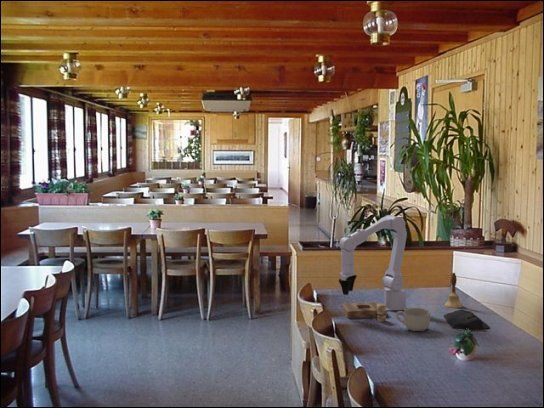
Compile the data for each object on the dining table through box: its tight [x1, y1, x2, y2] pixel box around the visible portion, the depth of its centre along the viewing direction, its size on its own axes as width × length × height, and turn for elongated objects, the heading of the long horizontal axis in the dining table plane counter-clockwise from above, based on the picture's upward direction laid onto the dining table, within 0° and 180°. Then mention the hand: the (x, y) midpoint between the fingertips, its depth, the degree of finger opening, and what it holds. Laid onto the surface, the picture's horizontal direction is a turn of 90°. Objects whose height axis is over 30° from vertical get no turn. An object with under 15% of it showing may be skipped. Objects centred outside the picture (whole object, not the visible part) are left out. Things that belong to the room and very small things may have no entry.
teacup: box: [395, 307, 431, 332], centre depth 248 cm, size 14×11×8 cm
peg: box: [377, 303, 386, 323], centre depth 262 cm, size 4×4×7 cm
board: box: [341, 301, 388, 319], centre depth 275 cm, size 18×14×3 cm
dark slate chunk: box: [443, 309, 490, 331], centre depth 257 cm, size 15×22×5 cm
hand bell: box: [444, 272, 464, 309], centre depth 284 cm, size 8×8×16 cm
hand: (347, 292), depth 274 cm, fingers open, 7 cm apart
